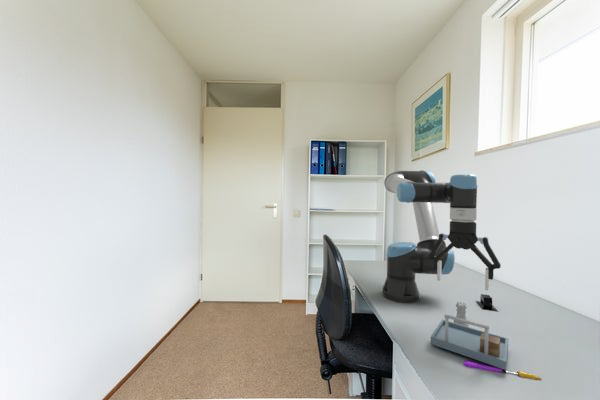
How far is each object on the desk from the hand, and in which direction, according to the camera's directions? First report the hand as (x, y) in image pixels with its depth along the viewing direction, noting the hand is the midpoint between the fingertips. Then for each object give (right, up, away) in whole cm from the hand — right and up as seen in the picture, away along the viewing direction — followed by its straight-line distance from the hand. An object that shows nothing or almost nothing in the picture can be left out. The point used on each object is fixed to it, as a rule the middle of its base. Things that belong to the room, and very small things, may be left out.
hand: (461, 284), depth 85 cm
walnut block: (-4, -13, -18) cm, 22 cm away
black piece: (+21, -15, +18) cm, 31 cm away
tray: (-5, -15, -12) cm, 20 cm away
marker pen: (-4, -15, -21) cm, 26 cm away
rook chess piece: (0, -15, 0) cm, 15 cm away
